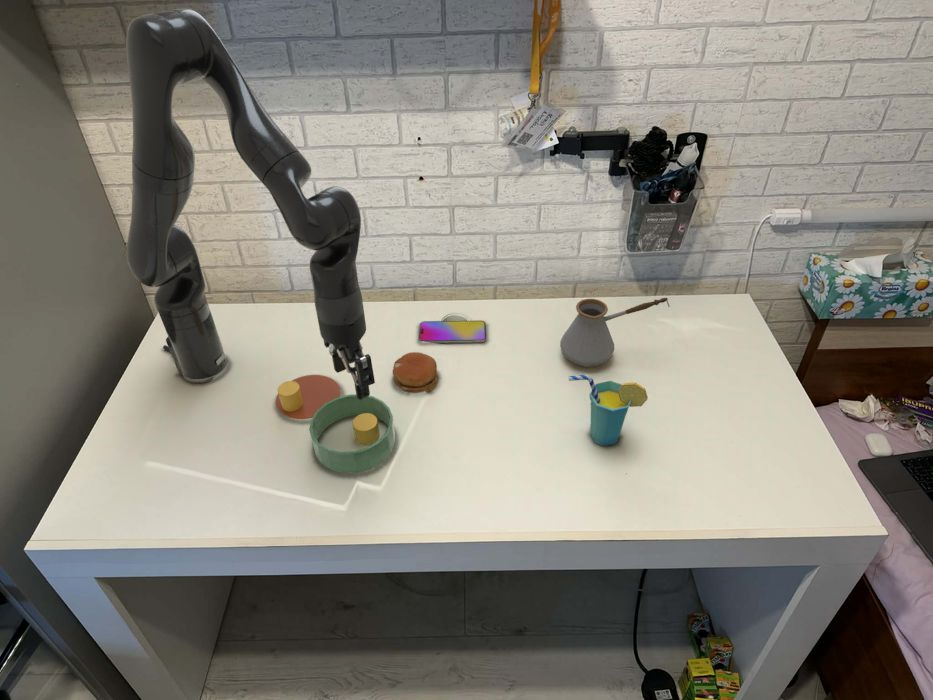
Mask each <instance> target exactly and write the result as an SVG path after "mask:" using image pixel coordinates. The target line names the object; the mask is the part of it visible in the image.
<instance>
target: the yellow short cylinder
mask: <svg viewBox="0 0 933 700" xmlns="http://www.w3.org/2000/svg"><path fill="white" fill-rule="evenodd" d="M378 420H379V419H378V418H376V416H375V415H373V414H370V413H363V414H360V415H356V416H355V417H354V419H353V420H352V427H353V433H354V438H355V441H356V442H357V443H359V444H361V445H372V444H374V443H376V442H377V441H378V440H379V439H380V435H381V434H380V428H379V421H378Z"/></svg>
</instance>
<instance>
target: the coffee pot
mask: <svg viewBox="0 0 933 700" xmlns="http://www.w3.org/2000/svg"><path fill="white" fill-rule="evenodd" d="M668 300H669V299H668V297H662V298H660V299H654V300H653V301H648V302H643V303H640V304H638V305H635V306H633V307H630V308H627V309H625V310H622V311H619V312H616V313H612V314H609V315H607V314H608V311H609V308H608V305H607V304H606V303H605V302H604V301H602V300H600V299H596V298H584V299H581V300H580V301H578V302H577V303H576V305H575V309H576V312H577V313H578V314H577V315H576V317H574V319H573V321H572V322H571V324H570V325H569V327H568V328H567V329H566V331H565V332H564V334H563V335H562V337H561V339H560V343H559V344H560V345H559V346H560V351H561V352H562V354H563V355H564V356H565V358H566V359H567V360H569V361H570V362H572V363H573V364H574V365H576V366H580V367H583V368H593V367H597V366H599V365H602V364H604V363H606V362H608V360H610V358H611V357H612V356H613V355H614V352H615V343H614V340H613V338H612V335H611V332H610V330H609V327H608V324H607V322H608V321H610V320H611V321H612V320H613V319H617V318H619V317H622V316H624V315H629V314H633V313H637V312H640V311H641V312H642V311H644V310H647V309H649V308H651V307H653V306H658V305H659V304H663V303H665V302H666V304H667V307H668V308H670V307H671V306H670V303H669V301H668Z"/></svg>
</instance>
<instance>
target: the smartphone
mask: <svg viewBox="0 0 933 700" xmlns="http://www.w3.org/2000/svg"><path fill="white" fill-rule="evenodd" d="M486 327H487V326H486V321H484V320H430V321H429V320H428V321H427V320H424V321H420V323H419V333H418V341H419V342H424V343H430V344H450V343H451V344H458V343H460V344H462V343H463V344H464V343H468V344H469V343H484V342H486V340H487V330H486Z"/></svg>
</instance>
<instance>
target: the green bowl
mask: <svg viewBox="0 0 933 700" xmlns="http://www.w3.org/2000/svg"><path fill="white" fill-rule="evenodd" d="M363 413H370V414H373V415H375V416H376V418H377V420H381V421H382V422H384V423H385V425H386V426H387V429H386V431H385V433H384V434H383V435H382V436H381V437H380V438H379V439H378V440H377V441H375V442H373V443H371V444H370V445H369V446H367V447H365V448H362V449H358V450H354V451H340V450H339V451H338V450H334V449H329V448H328V447H326V446H325V445H324V446H323V445H322V444H320V442H319V438H320V437H321V435H322V433H323V432H324V430H325V429H327V428H328V427H329V426H330V425H331V424H333V423H334V422H336V421H338V420H341V419H343V418H346V417H350V416H358V415H360V414H363ZM393 417H394V416H393V413H392V411H391V408H390V406H388V405H387V404H386V403H385V402H384V401H383V400H382V399H380V398H378V397H376V396H373V395H369V396H368V397H366V398H363V399H361V400H359V399H358V398H357V396H356V393H355V394H346V395H342V396H340V397H338V398H335V399H333V400H331V401H329V402H327V403H325V404H324V405H323V406H322V407H321V408H320V409H318V410H317V411H316V413H315V414H314V416H313V418H310V423H309V428H308V430H309V434H310V438H311V442H312V447H313V450H314V454H315V457H316V459H317V460H318V461H319V463H320V464H321V465H322V466H324V467H325V468H327V469H329V470H331V471H333V472H338V473H342V474H351V473H353V474H355V473H360V472H361V473H362V472H365V471H367V470H371V469H372V468H374V467H377V466H378V465H379V464H381V463H383V462H384V461H385V460H386V459H387V458H388V456H390V455H391V453H392V451H393V449H394V447H395V444H396V431H395V423H394V418H393Z"/></svg>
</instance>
